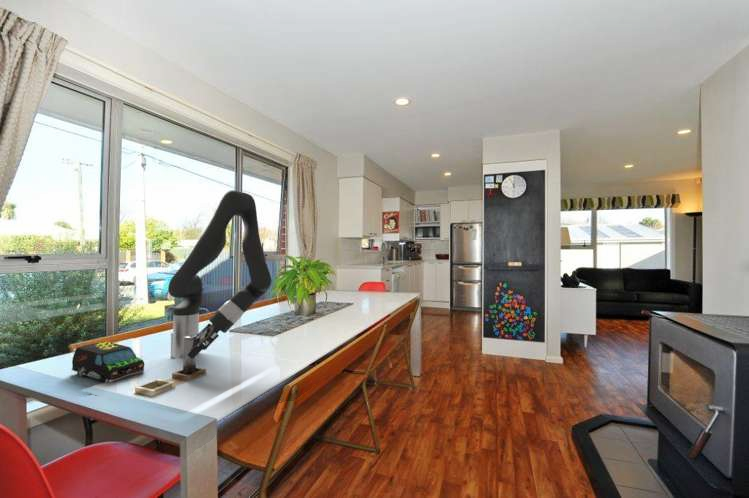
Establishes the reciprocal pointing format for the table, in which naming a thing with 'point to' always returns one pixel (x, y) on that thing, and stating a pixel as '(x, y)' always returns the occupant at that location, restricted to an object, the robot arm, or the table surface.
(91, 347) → the toy van
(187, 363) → the grey tall bar
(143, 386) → the wooden trays
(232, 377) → the table surface
